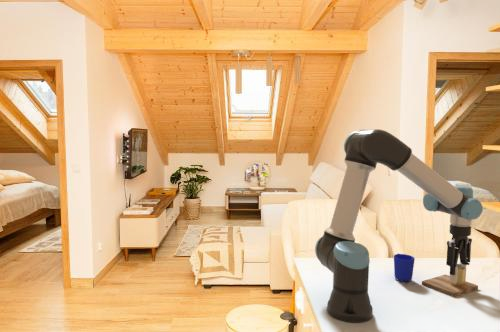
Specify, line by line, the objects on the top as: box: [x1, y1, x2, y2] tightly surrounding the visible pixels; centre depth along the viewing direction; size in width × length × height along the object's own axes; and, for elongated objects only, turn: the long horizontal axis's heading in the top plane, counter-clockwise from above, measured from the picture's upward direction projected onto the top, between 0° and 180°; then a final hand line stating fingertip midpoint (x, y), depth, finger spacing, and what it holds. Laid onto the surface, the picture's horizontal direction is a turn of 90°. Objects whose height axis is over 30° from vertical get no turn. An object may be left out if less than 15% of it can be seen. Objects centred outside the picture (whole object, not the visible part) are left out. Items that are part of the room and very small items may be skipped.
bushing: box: [450, 266, 467, 287], centre depth 154 cm, size 5×5×7 cm
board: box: [421, 274, 479, 298], centre depth 155 cm, size 16×14×2 cm
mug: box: [393, 253, 416, 283], centre depth 164 cm, size 8×12×10 cm
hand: (457, 280), depth 154 cm, fingers closed on bushing, 5 cm apart
